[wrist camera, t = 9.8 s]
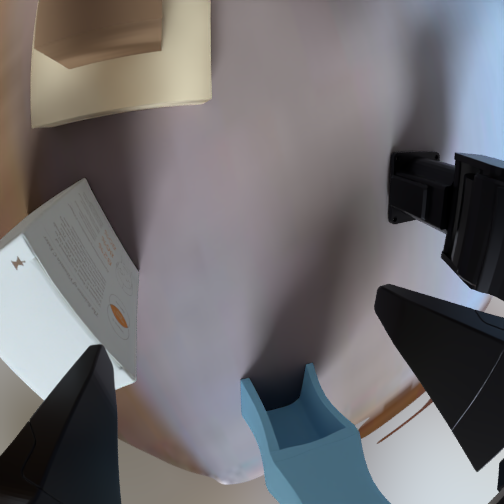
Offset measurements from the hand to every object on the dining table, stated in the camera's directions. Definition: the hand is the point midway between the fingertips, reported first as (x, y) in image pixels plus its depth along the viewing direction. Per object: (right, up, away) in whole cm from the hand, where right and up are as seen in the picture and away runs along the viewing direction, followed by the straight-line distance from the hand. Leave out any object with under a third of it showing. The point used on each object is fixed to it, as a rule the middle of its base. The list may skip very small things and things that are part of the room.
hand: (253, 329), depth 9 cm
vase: (+3, -13, +22) cm, 26 cm away
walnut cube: (-7, +14, +2) cm, 16 cm away
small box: (-12, +3, +10) cm, 16 cm away
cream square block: (-8, +16, +5) cm, 18 cm away
